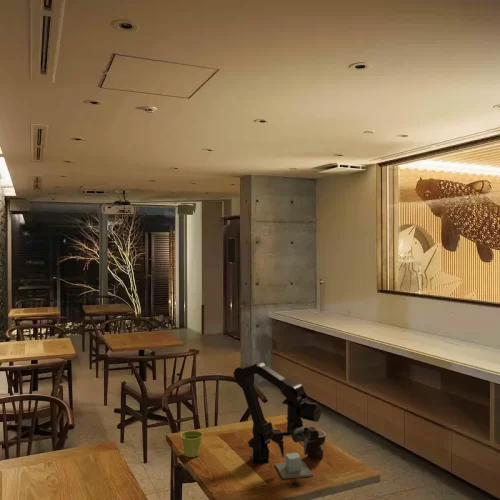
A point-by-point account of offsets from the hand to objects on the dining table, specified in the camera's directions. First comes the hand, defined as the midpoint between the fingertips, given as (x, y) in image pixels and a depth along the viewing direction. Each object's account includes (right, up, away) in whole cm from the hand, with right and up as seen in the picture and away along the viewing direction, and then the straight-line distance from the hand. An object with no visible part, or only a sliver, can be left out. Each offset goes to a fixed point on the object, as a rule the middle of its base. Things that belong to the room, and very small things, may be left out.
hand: (294, 455), depth 203 cm
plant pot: (-42, -6, +14) cm, 45 cm away
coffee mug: (+11, -6, +14) cm, 19 cm away
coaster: (0, -6, 0) cm, 6 cm away
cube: (0, -5, 0) cm, 5 cm away
